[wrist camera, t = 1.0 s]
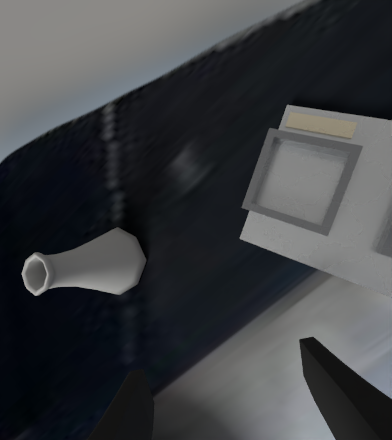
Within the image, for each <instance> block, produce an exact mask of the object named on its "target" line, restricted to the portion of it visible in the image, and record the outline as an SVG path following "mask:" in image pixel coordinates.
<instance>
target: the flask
mask: <svg viewBox="0 0 392 440" xmlns="http://www.w3.org/2000/svg"><path fill="white" fill-rule="evenodd" d="M146 261H147V260H146V258H145V256H144V254H143V251H142V249H141V247H140V245H139V243H138V240H137V238H136V237H135V236H133V235H131V234H129V233H127V232H126V231H124V230H122V229H120V228H118V227H117V228H115V229H113V230H111V231H109V232H107V233H105V234H104V235H102V236H100V237H98V238H96V239H94V240H92V241H90V242H88V243H86V244H84V245H82V246H80V247H78V248H76V249H73V250H70V251H67V252H63V253H60V254H55V255H43V254H42V253H38V252H37V253H34V254H33V255H31V256H30V257H29V258H28V259H26V261H25V265H24V268H23V271H22V276H23V279H24V283H25V286H26V288H27V289H28V290H29V291H30V292H32V293H33V294H34V295H35V296H36V295H39V294H41V293H43V292H44V291H46V290H47V289H50V288H55V287H69V286H77V287H83V288H89V289H95V290H100V291H104V292H109V293H113V294H119V295H120V294H122V293H123V292H125V291H127V290H129V289H130V288H132V287H134V286H135V285H137V284H138V282H139V279H140V277H141V274H142V271H143V269H144V266H145V263H146Z"/></svg>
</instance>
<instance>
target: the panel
mask: <svg viewBox="0 0 392 440" xmlns="http://www.w3.org/2000/svg"><path fill="white" fill-rule="evenodd" d="M242 208H244V209H247V210H250V211H249V214H248V217H247V220H246V222H245V225H244V228H243V231H242V234H241V237H240V239H242V240H245V241H247V242H250V243H252V244H255V245H257V246H260V247H263V248H265V249H268V250H270V251H273V252H275V253H278V254H281V255H283V256H286V257H288V258H291V259H294V260H296V261H299V262H301V263H304V264H306V265H309V266H312V267H314V268H317V269H319V270H322V271H325V272H327V273H330V274H332V275H335V276H337V277H340V278H343V279H345V280H348V281H350V282H353V283H355V284H358V285H361V286H363V287H366V288H368V289H371V290H374V291H376V292H379V293H381V294H384V295H386V296H389V297H392V120H385V119H379V118H372V117H365V116H359V115H352V114H345V113H338V112H332V111H325V110H318V109H312V108H305V107H298V106H291V105H287V107H286V110H285V112H284V115H283V118H282V121H281V124H280V127H279V129H278V130H277V129H271V128H269V131H268V134H267V137H266V140H265V142H264V145H263V148H262V151H261V154H260V157H259V159H258V162H257V165H256V168H255V171H254V174H253V177H252V179H251V182H250V185H249V188H248V191H247V194H246V197H245V199H244V202H243V205H242Z"/></svg>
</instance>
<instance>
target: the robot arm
mask: <svg viewBox="0 0 392 440" xmlns="http://www.w3.org/2000/svg"><path fill="white" fill-rule="evenodd" d="M299 341H300V349H301V358H302V366H303V375H304V378H305V380H306V382H307V385H308V387H309V389H310V392H311V394H312V396H313V398H314V401H315V403H316V404H317V406H318V408H319V410H320V412H321V414H322V415H323V417H324V419H325V421H326V423H327V425H328V426H329V428H330V430H331V432H332V434H333V436H334V437H335V439H336V440H392V399H391V398H389V397H388V396H386V395H385V394H384V393H382V392H381V391H379V390H378V389H377V388H375V387H374V386H373V385H371V384H370V383H368V382H367V381H366V380H364V379H363V378H362V377H361V376H359V375H358V374H357V373H356V372H354V371H353V370H352V369H350V368H349V367H348V366H347V365H345V364H344V363H343V362H342V361H341V360H339V359H338V358H337V357H336V356H335V355H334V354H332V353H331V352H330V351H329V350H328V349H327V348H325V347H324V346H323V345H322V344H321V343H320V342H319V341H318V340H316V339H315V338H314V337H309V338H304V339H299ZM153 418H154V401H153V398H152V395H151V391H150V388H149V385H148V382H147V379H146V376H145V373H144V370H143V369H140V370H135V371H130V373H129V374H128V376H127V377H126V379H125V381H124V382H123V384H122V386H121V387H120V389H119V391H118V393H117V394H116V396H115V398H114V399H113V401H112V402H111V404H110V406H109V407H108V409H107V410H106V412H105V414H104V415H103V417H102V418H101V420H100V422H99V423H98V425H97V426H96V428H95V429H94V431H93V432H92V433H91V435H90V436H89V438H88V439H87V440H151V438H152V431H153Z"/></svg>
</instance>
